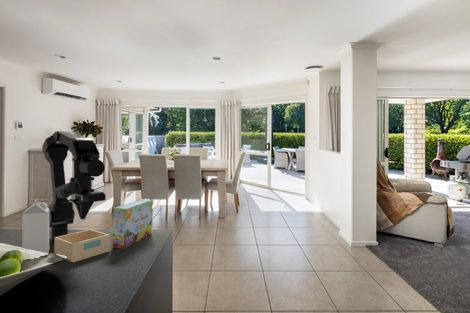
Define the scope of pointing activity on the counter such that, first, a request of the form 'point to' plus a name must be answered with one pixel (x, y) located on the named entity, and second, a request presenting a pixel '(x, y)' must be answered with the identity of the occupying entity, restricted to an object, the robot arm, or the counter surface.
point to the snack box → (131, 222)
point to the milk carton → (36, 227)
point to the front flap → (90, 248)
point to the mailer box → (73, 241)
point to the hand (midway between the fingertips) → (82, 219)
